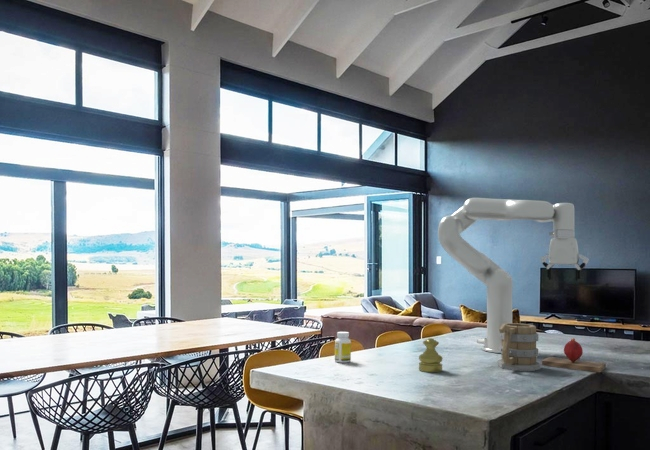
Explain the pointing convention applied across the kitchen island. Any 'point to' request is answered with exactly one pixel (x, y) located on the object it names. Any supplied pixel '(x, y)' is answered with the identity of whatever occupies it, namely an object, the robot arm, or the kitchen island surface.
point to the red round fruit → (573, 350)
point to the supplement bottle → (342, 348)
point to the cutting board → (574, 364)
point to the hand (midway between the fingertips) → (564, 280)
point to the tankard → (518, 347)
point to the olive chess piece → (430, 357)
